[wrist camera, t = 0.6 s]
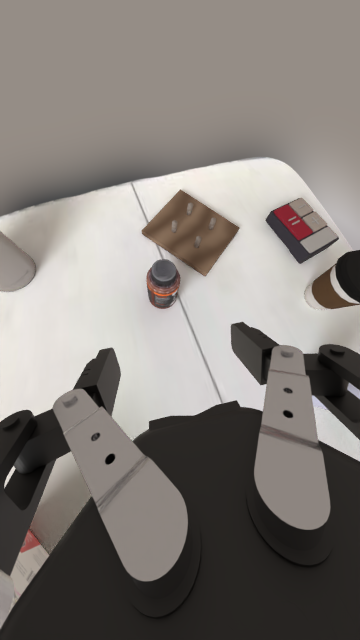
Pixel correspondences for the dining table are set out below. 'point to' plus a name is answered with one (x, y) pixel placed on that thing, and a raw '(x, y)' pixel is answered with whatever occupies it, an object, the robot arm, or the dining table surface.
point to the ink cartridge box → (27, 565)
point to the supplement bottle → (163, 283)
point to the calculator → (301, 229)
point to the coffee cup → (337, 285)
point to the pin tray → (191, 232)
